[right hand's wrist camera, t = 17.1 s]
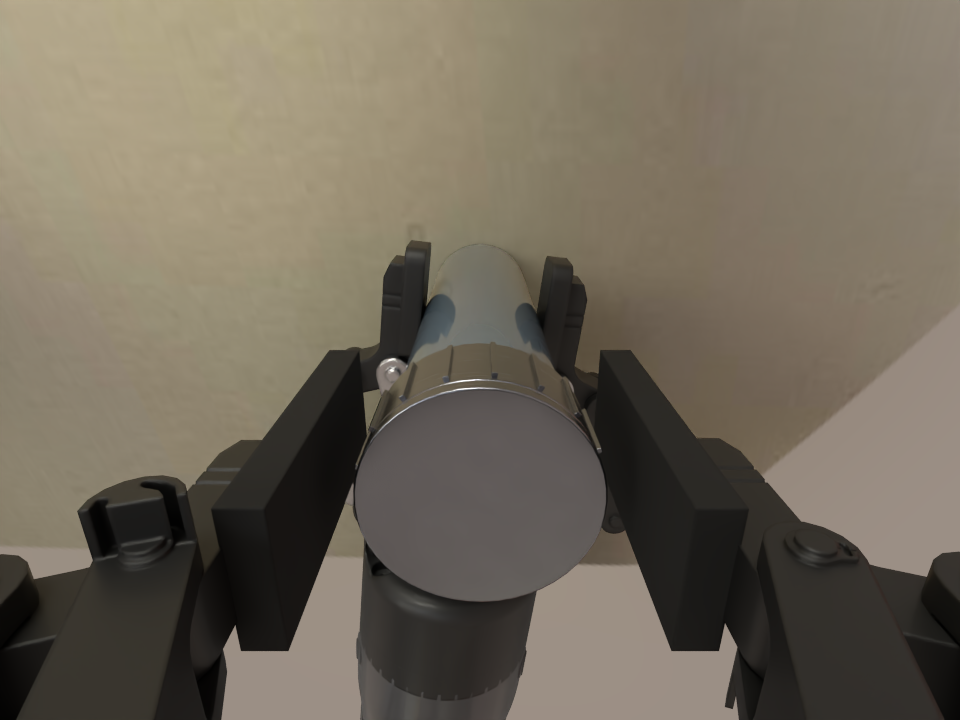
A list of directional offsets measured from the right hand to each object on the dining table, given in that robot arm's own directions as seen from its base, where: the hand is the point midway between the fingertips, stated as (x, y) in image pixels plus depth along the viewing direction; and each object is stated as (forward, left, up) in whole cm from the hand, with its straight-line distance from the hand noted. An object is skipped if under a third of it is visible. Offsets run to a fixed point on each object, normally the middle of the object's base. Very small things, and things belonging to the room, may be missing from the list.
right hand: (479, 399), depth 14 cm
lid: (0, 0, +4) cm, 4 cm away
